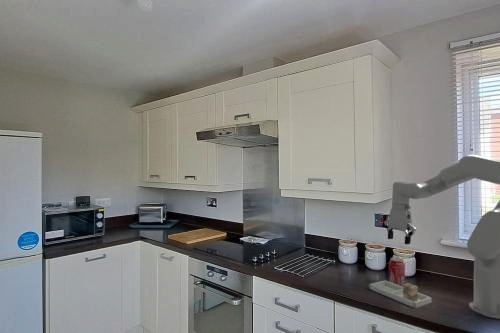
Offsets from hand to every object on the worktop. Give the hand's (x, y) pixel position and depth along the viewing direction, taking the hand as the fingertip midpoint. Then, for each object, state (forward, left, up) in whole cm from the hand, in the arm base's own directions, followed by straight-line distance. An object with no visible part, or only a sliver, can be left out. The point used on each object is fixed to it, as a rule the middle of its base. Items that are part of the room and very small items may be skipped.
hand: (398, 241), depth 149 cm
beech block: (-15, +14, -20) cm, 29 cm away
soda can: (0, +1, -21) cm, 21 cm away
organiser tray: (-9, +14, -21) cm, 27 cm away
